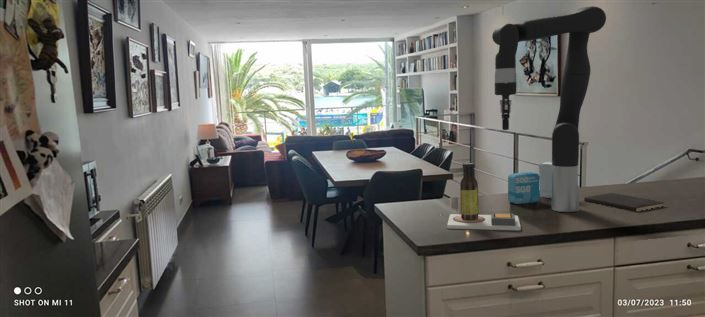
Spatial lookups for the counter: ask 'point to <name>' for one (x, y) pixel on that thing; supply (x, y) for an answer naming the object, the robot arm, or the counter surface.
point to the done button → (502, 216)
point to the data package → (523, 188)
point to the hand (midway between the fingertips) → (505, 129)
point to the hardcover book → (623, 202)
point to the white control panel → (484, 222)
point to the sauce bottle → (469, 193)
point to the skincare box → (545, 179)
